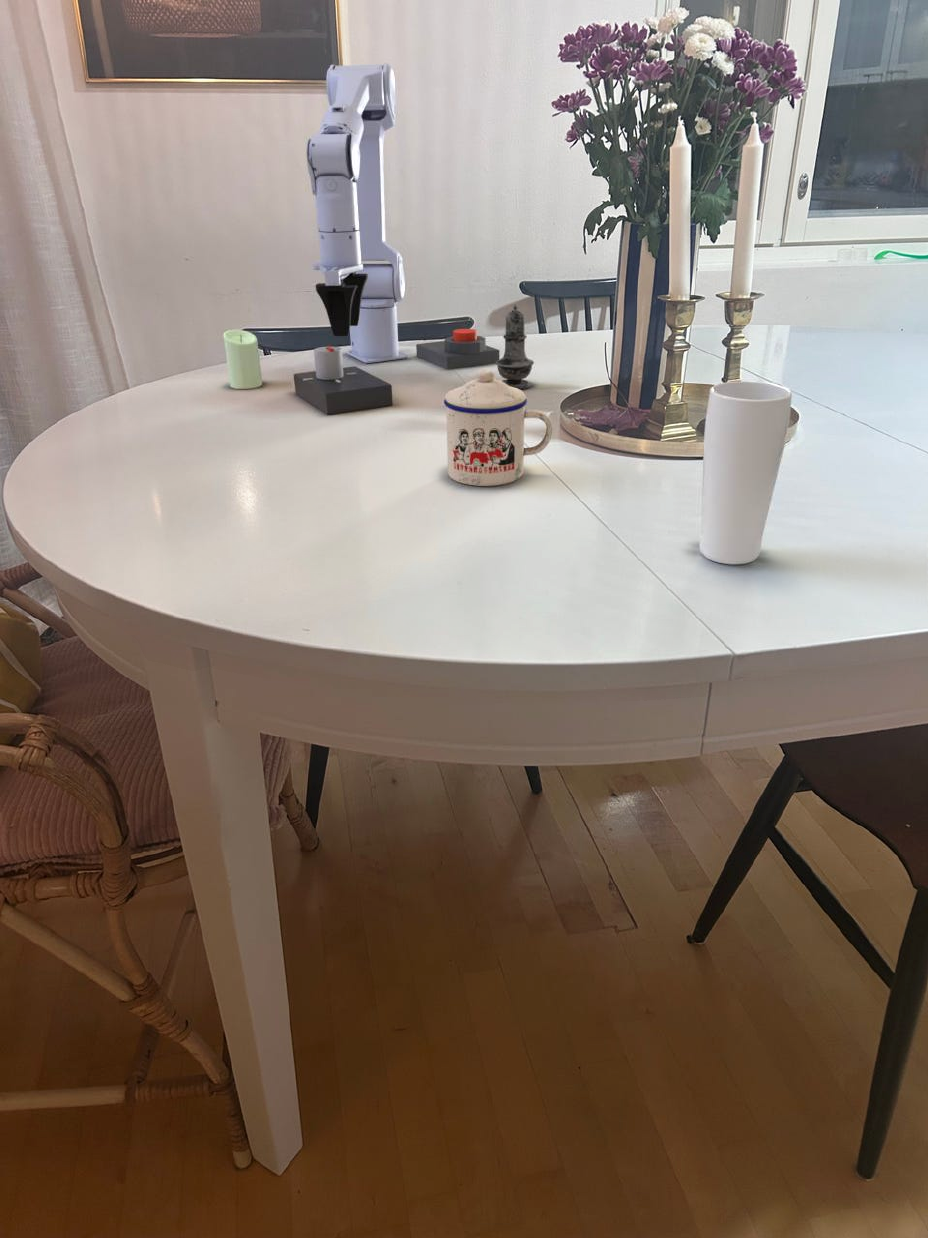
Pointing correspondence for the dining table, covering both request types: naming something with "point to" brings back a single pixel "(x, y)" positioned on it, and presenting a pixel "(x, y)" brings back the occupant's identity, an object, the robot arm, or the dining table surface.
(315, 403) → the panel
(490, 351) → the grey button base
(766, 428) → the drinking glass
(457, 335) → the power button
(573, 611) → the dining table surface
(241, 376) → the candle
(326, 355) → the knob
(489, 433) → the teacup with lid
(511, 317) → the salt shaker
